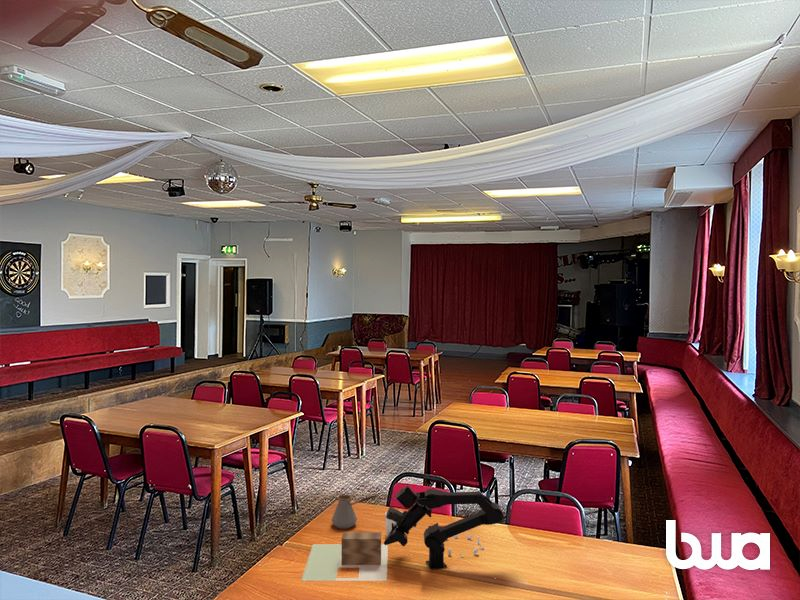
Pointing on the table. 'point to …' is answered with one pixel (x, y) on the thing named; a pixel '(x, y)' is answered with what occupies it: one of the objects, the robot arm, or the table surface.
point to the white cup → (389, 524)
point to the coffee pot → (346, 512)
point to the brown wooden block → (361, 548)
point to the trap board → (340, 565)
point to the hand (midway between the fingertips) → (384, 544)
